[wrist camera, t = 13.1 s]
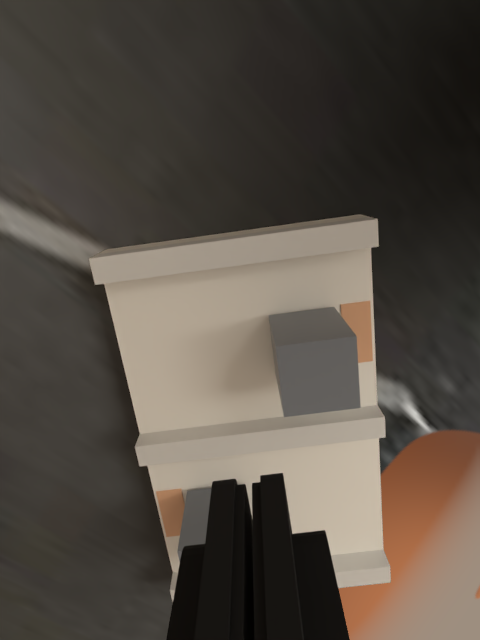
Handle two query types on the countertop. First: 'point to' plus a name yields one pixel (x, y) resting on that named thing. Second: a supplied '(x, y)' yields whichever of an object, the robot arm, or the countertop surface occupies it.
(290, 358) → the tab
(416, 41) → the countertop surface
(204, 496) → the tab
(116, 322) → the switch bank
